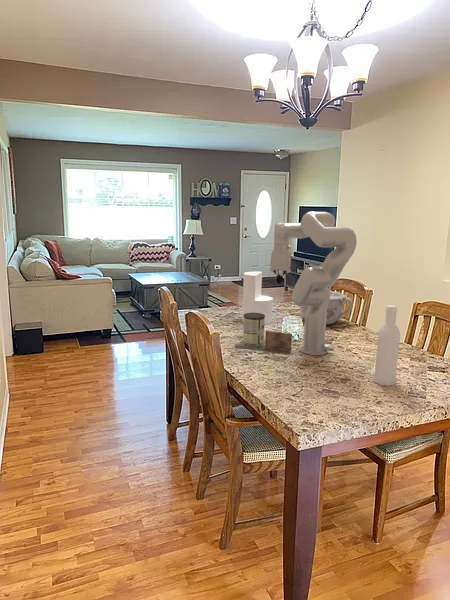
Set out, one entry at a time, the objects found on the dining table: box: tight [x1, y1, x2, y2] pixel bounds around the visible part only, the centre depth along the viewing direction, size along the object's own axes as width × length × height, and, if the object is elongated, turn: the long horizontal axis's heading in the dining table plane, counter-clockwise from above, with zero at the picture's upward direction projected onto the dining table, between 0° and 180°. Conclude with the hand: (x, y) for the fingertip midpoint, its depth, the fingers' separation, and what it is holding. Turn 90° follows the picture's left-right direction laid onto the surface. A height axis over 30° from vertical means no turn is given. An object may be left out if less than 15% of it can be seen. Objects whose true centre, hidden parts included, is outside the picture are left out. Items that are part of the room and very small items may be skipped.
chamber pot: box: [299, 290, 354, 326], centre depth 260 cm, size 28×28×21 cm
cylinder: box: [241, 271, 274, 326], centre depth 259 cm, size 17×17×28 cm
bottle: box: [373, 304, 401, 387], centre depth 169 cm, size 8×8×30 cm
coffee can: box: [242, 313, 265, 346], centre depth 218 cm, size 10×10×14 cm
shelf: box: [264, 330, 293, 353], centre depth 206 cm, size 12×3×8 cm, turn 71°
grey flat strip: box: [235, 343, 291, 355], centre depth 209 cm, size 26×4×1 cm, turn 71°
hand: (279, 283), depth 230 cm, fingers closed
